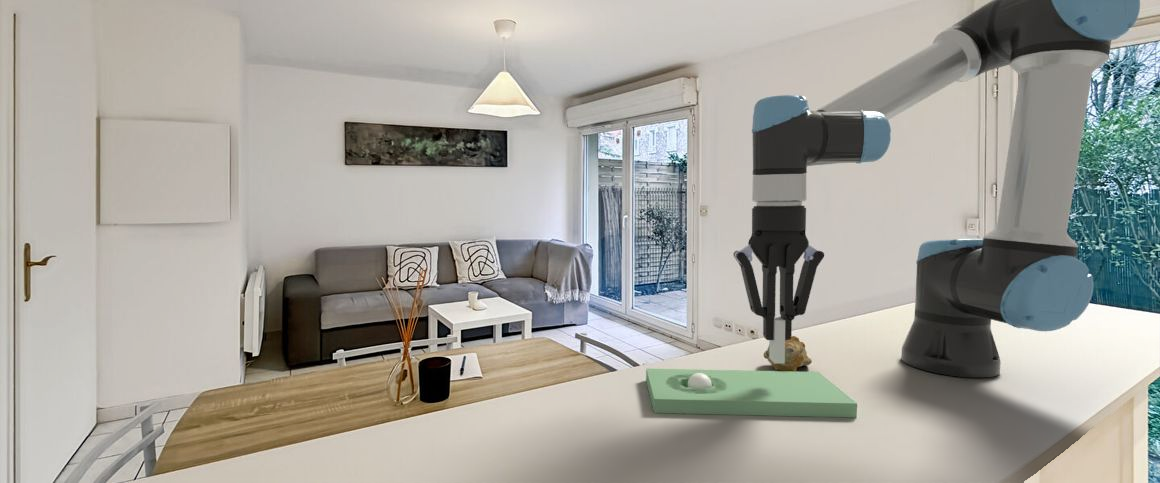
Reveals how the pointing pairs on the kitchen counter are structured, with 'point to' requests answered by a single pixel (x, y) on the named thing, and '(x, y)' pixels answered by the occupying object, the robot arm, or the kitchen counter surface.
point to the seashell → (791, 356)
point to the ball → (699, 381)
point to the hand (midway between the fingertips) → (776, 360)
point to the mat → (748, 393)
